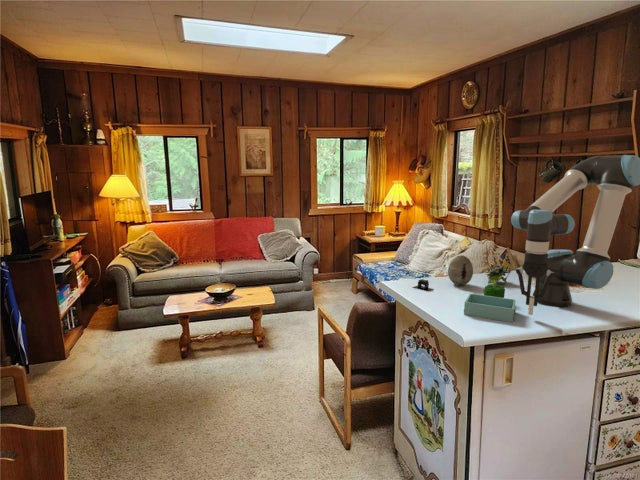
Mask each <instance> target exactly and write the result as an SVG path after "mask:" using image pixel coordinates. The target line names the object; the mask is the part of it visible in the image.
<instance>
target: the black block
mask: <svg viewBox="0 0 640 480" xmlns="http://www.w3.org/2000/svg"><path fill="white" fill-rule="evenodd" d="M429 285H430V282H429V280H428V279H424V278H422V279H418V281H417V285H415V286H412V289H417V290H421V291H424V292H432V291H434V290H435V289H434V288H430V287H429Z"/></svg>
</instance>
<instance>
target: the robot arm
mask: <svg viewBox="0 0 640 480" xmlns="http://www.w3.org/2000/svg"><path fill="white" fill-rule="evenodd" d="M591 185H597V186H596V187H597V188H598V190H599V193H598V197H597V200H596V202H595V207H594V208H593V212H592V215H591V219H590V222H589V225H588V228H587V232H586V235H585V237H584V240H583V244H582V247H581V248H578V249H577V250H576V251H575V254H574V252H573V250H572V249H550V240H551V239H550V237H551V236H559V235H563V236H564V235H566V234H569V233H571V232H573V231H574V229H575V226H576V223H575V219H574V218H573V217H572V215H570V214H568V213H567V214H566V213H558V214H557V213H553V212H555V211H556V210H557V209H558V208H559V207H560V206H561V205H563V204H564V203H565V202H566V201H567V200H568V199H570V197H572V196H573V195H574V194H575V193H576V192H578V191H579V190H583V189H585V188H586V187H588V186H591ZM637 186H640V157H639V156H638V155H634V154H633V155H632V154H631V155H630V154H622V155H621V154H619V155H595V156H592V157H589V158H586V159H584V160H581V161H579V163H577V164H575V165H574V166H571V167H570V168H569V169H568V170H567V171H566V172H565V173H564V176H563V178H562V179H560V180H559V181H558V182H557V183H555V184H554V185H553V186H552V187H551V188H549V189H548V190H547V191H546V192H545V193H544V194H543V195H541V196H540V197H539V198H538V199H537V200H535V201H534V202H533V203H532V204H531V205H529V206H528V207H527V208H526V209H525V210H523V209H521V210H515V211H514V212H513V213H512V215H511V218H510V219H511V220H510V222H511V225H512V227H514V228H515V229H519V230H523V231H526V239H525V240H526V241H525V249H524V250H525V252H524V261H523V264H522V265H521V266H520V267H516V269H515V272H516V274H517V276H518V282H519V287H520V293H521V295H523V296H525V297H526V298H525V305H526V306H528V312H527V314H528V315H529V316H533V315H534V307H537V306H538V304H540V305H544V306H547V307H548V306H549V307H555V308H568V307H571V306H572V305H573V298H572V294H571V290H570V284H572V285H577V286H581V287H584V288H586V289H592V290H599V289H603V288H604V287H605V286H607V285H608V283H610V281H611V279H612V277H613V275H614V265H613V263H612V262H610V260H611V257H610V256H609V254H608V251H609V248H610V246H611V244H612V243H611V242H612V239H613V237H614V236H613V235H614V233H615V229H616V226H617V223H618V220H619V217H620V214H621V210H622V208H623V204H624V202H625V199H626V196H627V195H628V194H630V193H631V192H632V191H633V189H634V187H637ZM524 272H525V274H526V275H527V276H528V278H527V288H526V287H525V283H524V279H523V273H524ZM533 278H535V287H534V291H532V290H531V289H532V282H533ZM525 288H526V289H525ZM531 292H532V295H531Z"/></svg>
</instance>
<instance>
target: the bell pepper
mask: <svg viewBox="0 0 640 480" xmlns="http://www.w3.org/2000/svg"><path fill="white" fill-rule="evenodd" d="M505 292H506V289H505V286H501V285H498V284H497V282H496V280H494V283H493V285H492V283H489V284H487V285H485V286H484V288H483V295H485V296H493V297H500V298H505V296H506V295H505V294H506V293H505Z"/></svg>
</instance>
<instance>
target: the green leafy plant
mask: <svg viewBox="0 0 640 480" xmlns="http://www.w3.org/2000/svg"><path fill="white" fill-rule="evenodd" d="M491 266H492V267H491V269H490V270H489V271H488V273H486V274H485V275H486V276H487V279H488V282H487V285H489V284H492V283H493V284H494V280H496V283H498V282H500V281H502V282H504V283H503V284H504V285H503V287H505V285H506V283H508V281H507V279H508V276H509V275H510V274H511V272H512V269H510V268H506V267H505V265H498V264H495V265H491ZM506 274H507V275H506ZM505 276H506V277H505Z"/></svg>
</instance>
